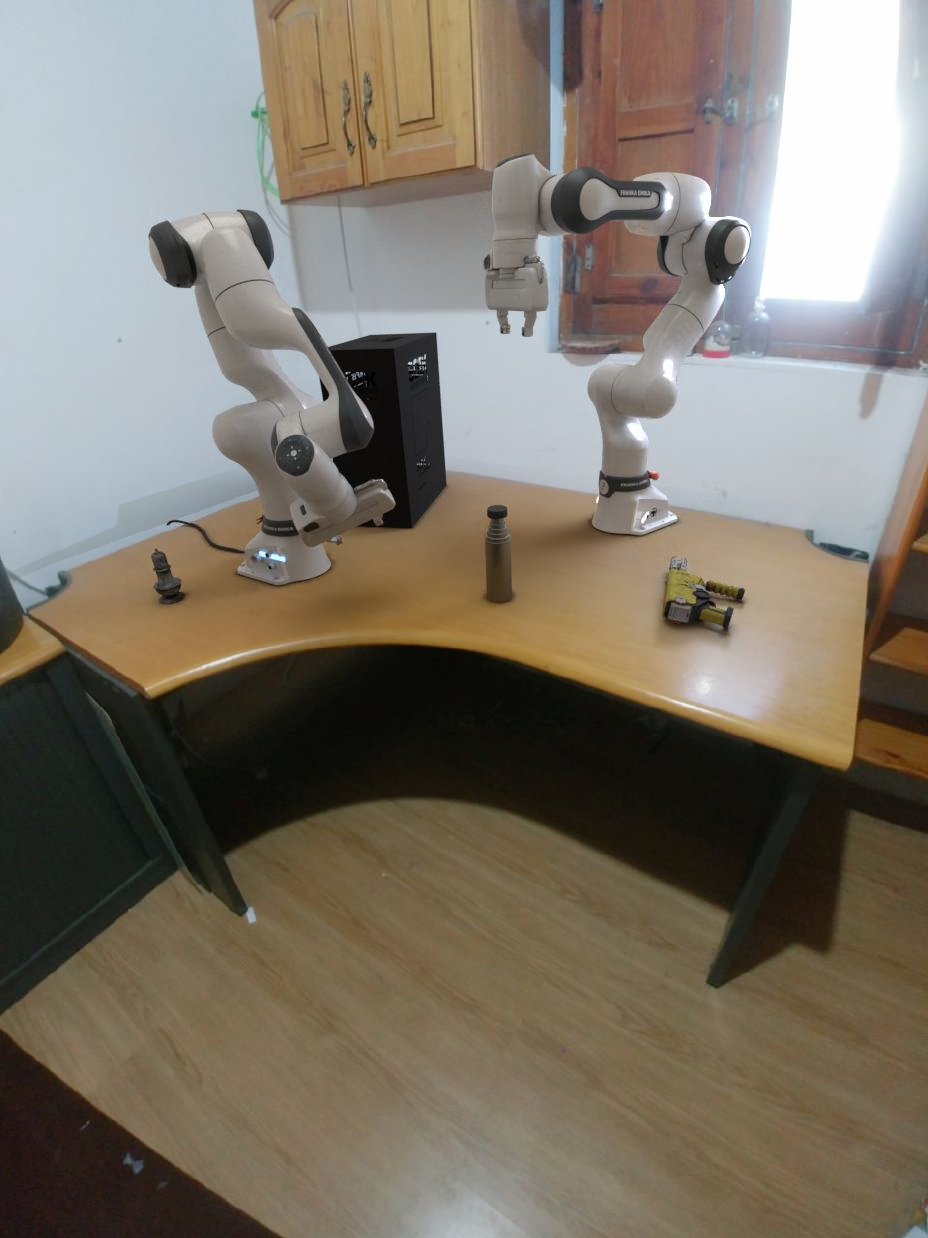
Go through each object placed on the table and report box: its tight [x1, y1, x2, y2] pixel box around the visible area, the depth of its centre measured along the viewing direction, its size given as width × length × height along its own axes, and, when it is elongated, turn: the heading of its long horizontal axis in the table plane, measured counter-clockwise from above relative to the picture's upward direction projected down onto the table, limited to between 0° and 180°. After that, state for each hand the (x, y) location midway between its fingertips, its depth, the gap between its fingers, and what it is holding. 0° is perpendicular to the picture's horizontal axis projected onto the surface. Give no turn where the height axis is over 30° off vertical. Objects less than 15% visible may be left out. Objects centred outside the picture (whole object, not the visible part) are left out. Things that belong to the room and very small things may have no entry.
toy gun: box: [662, 556, 746, 632], centre depth 120 cm, size 5×24×15 cm
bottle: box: [484, 518, 513, 603], centre depth 123 cm, size 5×5×19 cm
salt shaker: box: [150, 547, 185, 604], centre depth 132 cm, size 6×6×12 cm
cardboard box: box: [318, 332, 448, 529], centre depth 171 cm, size 38×20×45 cm, turn 167°
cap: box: [486, 504, 508, 520], centre depth 118 cm, size 4×4×2 cm
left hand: (359, 531), depth 128 cm, fingers open, 8 cm apart
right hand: (516, 335), depth 125 cm, fingers open, 8 cm apart
